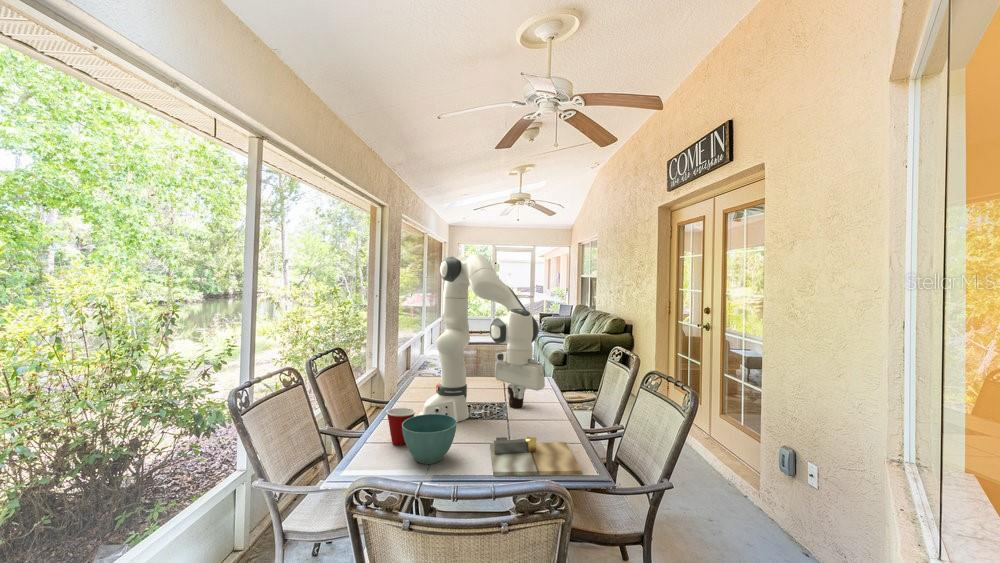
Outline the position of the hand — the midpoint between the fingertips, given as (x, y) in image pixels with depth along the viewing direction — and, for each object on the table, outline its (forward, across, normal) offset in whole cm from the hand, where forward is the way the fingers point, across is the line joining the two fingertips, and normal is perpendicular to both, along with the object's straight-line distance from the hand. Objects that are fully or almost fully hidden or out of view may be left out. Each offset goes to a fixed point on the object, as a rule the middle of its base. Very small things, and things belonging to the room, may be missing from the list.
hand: (518, 398), depth 136 cm
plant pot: (+21, +21, +21) cm, 37 cm away
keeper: (+20, +8, -1) cm, 21 cm away
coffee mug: (+21, +40, -43) cm, 63 cm away
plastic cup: (+22, +39, +21) cm, 49 cm away
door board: (+21, -4, -4) cm, 21 cm away
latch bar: (+19, +3, -2) cm, 20 cm away
